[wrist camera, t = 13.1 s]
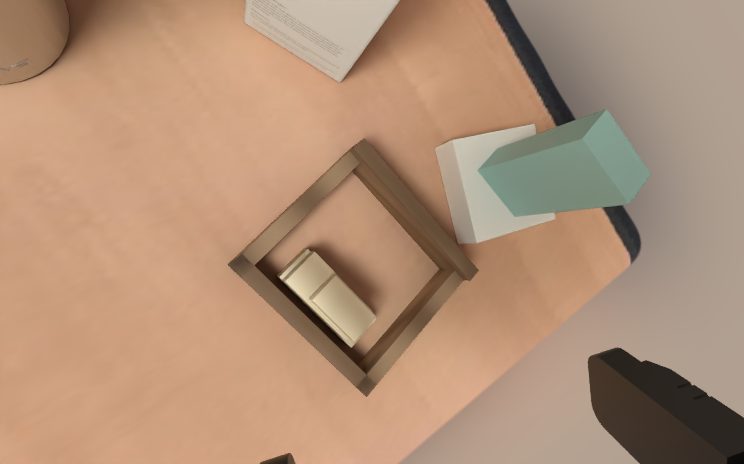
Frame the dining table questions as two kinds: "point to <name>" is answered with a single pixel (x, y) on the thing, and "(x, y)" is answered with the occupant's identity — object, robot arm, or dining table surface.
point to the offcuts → (327, 296)
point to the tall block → (567, 168)
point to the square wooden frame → (416, 225)
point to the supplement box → (320, 28)
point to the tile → (480, 187)
